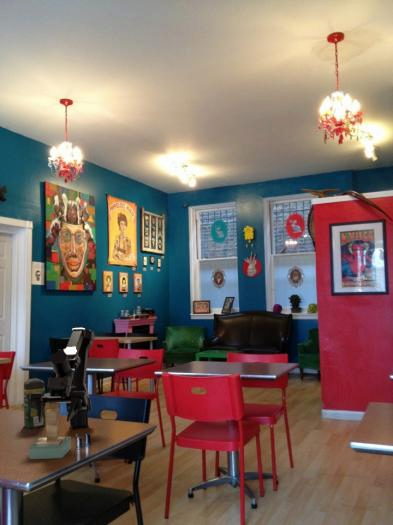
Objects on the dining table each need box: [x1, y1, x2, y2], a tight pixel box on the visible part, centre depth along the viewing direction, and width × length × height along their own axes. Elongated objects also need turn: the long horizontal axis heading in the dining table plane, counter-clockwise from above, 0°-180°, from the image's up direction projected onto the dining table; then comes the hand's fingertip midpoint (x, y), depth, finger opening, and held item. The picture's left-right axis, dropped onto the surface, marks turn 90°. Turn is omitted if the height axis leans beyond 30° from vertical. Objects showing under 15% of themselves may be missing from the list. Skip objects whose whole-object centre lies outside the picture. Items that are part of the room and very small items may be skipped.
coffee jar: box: [23, 378, 46, 429], centre depth 196 cm, size 10×8×19 cm
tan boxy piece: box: [36, 408, 66, 446], centre depth 155 cm, size 7×7×10 cm
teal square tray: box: [29, 436, 72, 460], centre depth 154 cm, size 10×10×4 cm
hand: (53, 421), depth 158 cm, fingers open, 9 cm apart
